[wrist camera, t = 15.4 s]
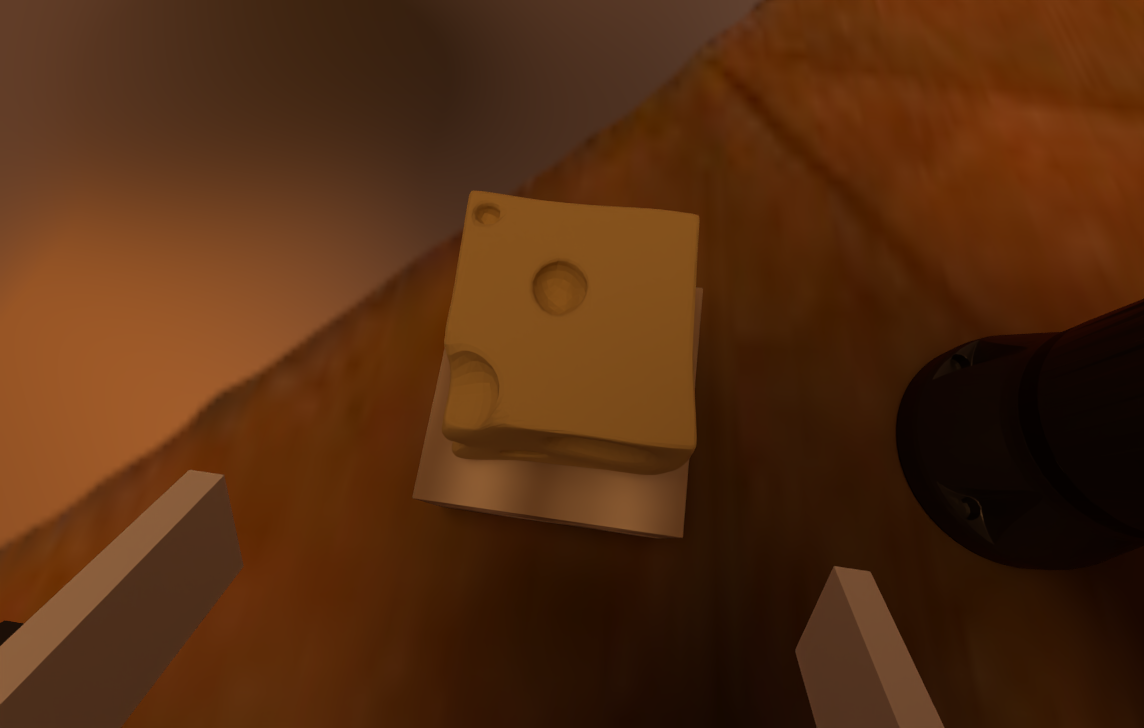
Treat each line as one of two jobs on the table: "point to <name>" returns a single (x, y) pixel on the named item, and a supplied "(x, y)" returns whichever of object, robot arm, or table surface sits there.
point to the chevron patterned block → (552, 482)
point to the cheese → (573, 335)
